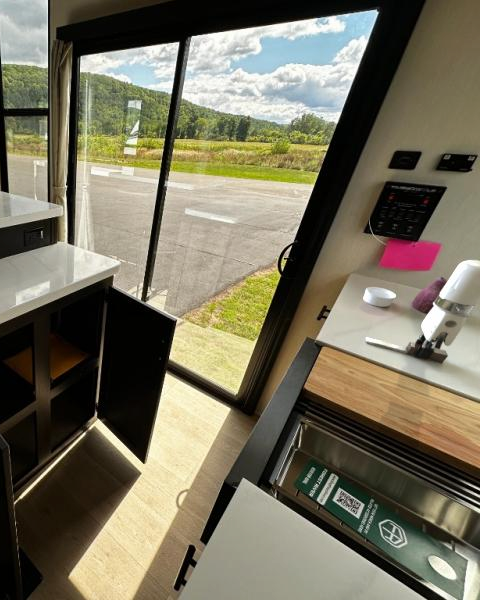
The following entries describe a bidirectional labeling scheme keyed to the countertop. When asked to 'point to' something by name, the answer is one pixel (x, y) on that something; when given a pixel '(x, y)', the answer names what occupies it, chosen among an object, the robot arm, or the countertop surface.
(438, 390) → the countertop surface
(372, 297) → the ramekin
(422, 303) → the vegetable
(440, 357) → the knife
